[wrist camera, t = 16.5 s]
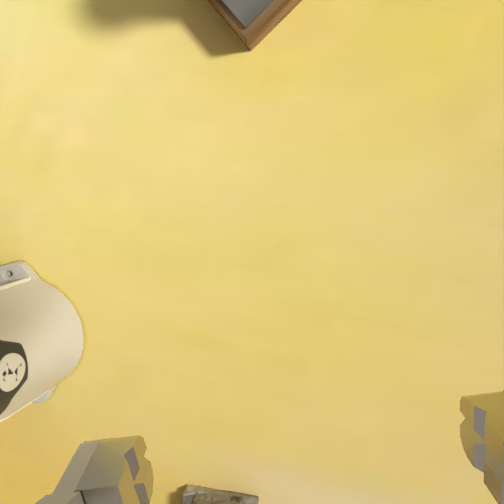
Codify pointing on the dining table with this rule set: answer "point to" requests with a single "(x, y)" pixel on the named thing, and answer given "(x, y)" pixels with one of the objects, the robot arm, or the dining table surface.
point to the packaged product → (215, 496)
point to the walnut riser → (253, 16)
